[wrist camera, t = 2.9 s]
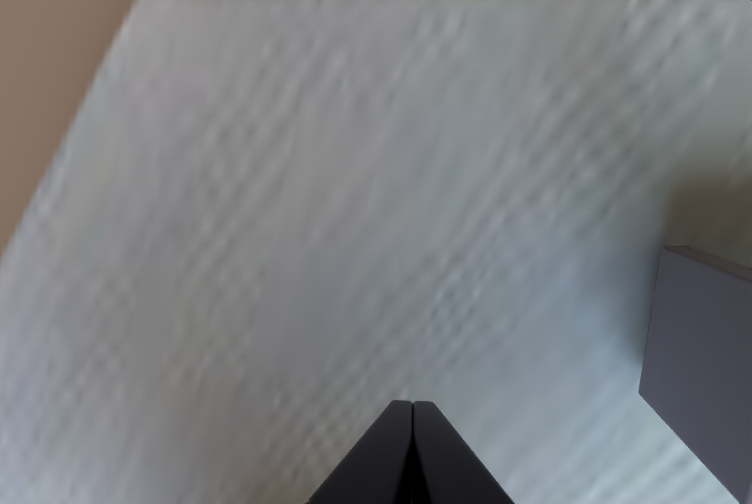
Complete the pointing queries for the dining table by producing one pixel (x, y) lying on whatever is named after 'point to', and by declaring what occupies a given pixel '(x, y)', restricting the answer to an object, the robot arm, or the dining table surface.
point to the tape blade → (703, 361)
